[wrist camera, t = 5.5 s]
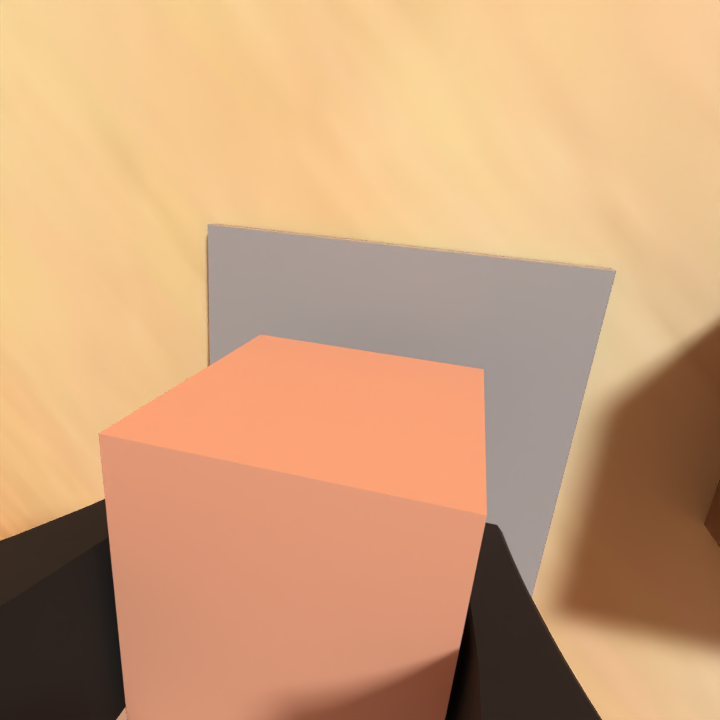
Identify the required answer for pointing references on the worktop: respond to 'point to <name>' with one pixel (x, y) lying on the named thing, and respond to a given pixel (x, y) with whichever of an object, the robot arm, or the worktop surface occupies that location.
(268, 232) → the baseplate
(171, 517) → the terracotta block
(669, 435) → the worktop surface
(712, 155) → the worktop surface
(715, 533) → the walnut block
